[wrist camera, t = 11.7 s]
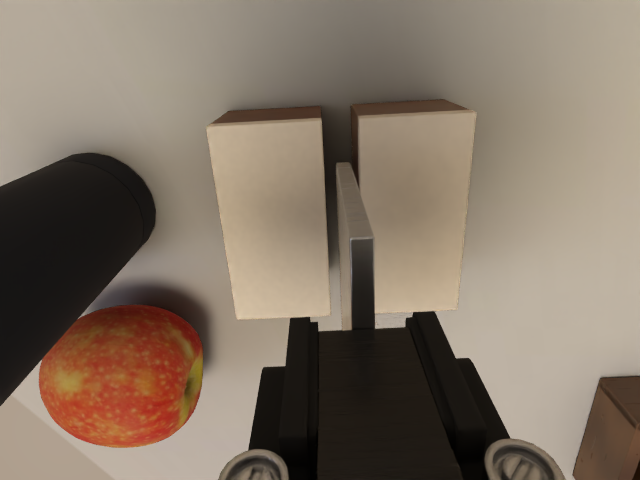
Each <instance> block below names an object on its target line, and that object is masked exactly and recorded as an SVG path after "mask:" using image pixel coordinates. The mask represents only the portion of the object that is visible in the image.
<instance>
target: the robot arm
mask: <svg viewBox="0 0 640 480" xmlns="http://www.w3.org/2000/svg"><path fill="white" fill-rule="evenodd" d="M405 327H409V328H410V330H411V333H412V336H413V339H414V341H415V344H416V347H417V350H418V353H419V356H420V359H421V362H422V365H423V367H424V370H425V373H426V376H427V379H428V382H429V385H430V388H431V391H432V393H433V396H434V399H435V402H436V405H437V408H438V411H439V414H440V417H441V419H442V422H443V423H444V425H445V427H446V430H447V433H448V436H449V439H450V441H451V444H452V447H453V450H454V453H455V456H456V459H457V461H458V464H459V467H460V470H461V473H462V476H463V478H464V480H566V479H565V477H564V475H563V473H562V471H561V469H560V468H559V466H558V465H557V464H556V462H555V461H554V459H553V458H552V457H551V456H549V455H548V454H547V453H546V452H545V451H544V450H542V449H541V448H539V447H537V446H535V445H534V444H532V443H529V442H526V441H523V440H519V439H511V438H510V436H509V434H508V432H507V430H506V428H505V426H504V424H503V422H502V420H501V418H500V416H499V414H498V412H497V410H496V408H495V406H494V404H493V402H492V400H491V398H490V396H489V394H488V392H487V390H486V388H485V386H484V384H483V382H482V380H481V378H480V376H479V374H478V372H477V370H476V368H475V366H474V364H473V363H472V361H471V360H470V359H469V358H458V359H456V358H455V356H454V354H453V351H452V349H451V347H450V345H449V342H448V340H447V338H446V336H445V334H444V331H443V329H442V327H441V325H440V322H439V320H438V318H437V316H436V314H435V312H434V311H427V312H414V313H413V316H412V317H411V318H406V326H405ZM317 428H318V322H310V317H300V318H290V326H289V336H288V346H287V356H286V366H282V367H264V368H263V369H262V374H261V379H260V385H259V391H258V397H257V403H256V409H255V414H254V420H253V426H252V432H251V438H250V443H249V449H248V451H245V452H243V453H241V454H239V455H237V456H235V457H234V458H233V459H232V460H231V461H229V462H228V463H227V464H226V466H225V467H224V469H223V470H222V471H221V473H220V476H219V479H218V480H316V432H317Z"/></svg>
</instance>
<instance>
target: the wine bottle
mask: <svg viewBox="0 0 640 480" xmlns="http://www.w3.org/2000/svg"><path fill="white" fill-rule="evenodd" d="M154 224H155V207H154V203H153V200H152V196H151V193H150V192H149V190H148V189H147V187H146V185H145V184H144V182H143V181H142V179H141V178H140V177H139V176H138V175H137V174H136V173H135V172H133V171H132V170H131V169H130V168H129V167H128V166H127V165H125V164H123V163H121V162H119V161H117V160H115V159H113V158H111V157H109V156H104V155H99V154H95V153H85V154H74V155H71V156H69V157H67V158H65V159H62V160H60V161H58V162H55V163H53V164H51V165H49V166H46V167H44V168H42V169H39V170H37V171H35V172H33V173H30V174H28V175H26V176H24V177H21V178H19V179H17V180H14V181H12V182H10V183H8V184H5V185H3V186H1V187H0V406H1V405H2V404H3V403H4V401H5V400H6V399H7V398H8V397H9V396H10V395H11V394H12V392H13V391H14V390H15V389H16V388H17V387H18V386H19V385H20V383H21V382H22V381H23V380H24V379H25V378H26V377H27V375H28V374H29V373H30V372H31V371H32V370H33V369H34V368H35V366H36V365H37V364H38V363H39V362H40V361H41V360H42V359H43V357H44V356H45V355H46V354H47V353H48V352H49V351H50V349H51V348H52V347H53V346H54V345H55V344H56V343H57V342H58V340H59V339H60V338H61V337H62V336H63V335H64V334H65V333H66V331H67V330H68V329H69V328H70V327H71V326H72V325H73V323H74V322H75V321H76V320H77V319H78V318H79V317H80V316H81V314H82V313H83V312H84V311H85V310H86V309H87V308H88V307H89V305H90V304H91V303H92V302H93V301H94V300H95V299H96V297H97V296H98V295H99V294H100V293H101V292H102V291H103V290H104V288H105V287H106V286H107V285H108V284H109V283H110V282H111V281H112V279H113V278H114V277H115V276H116V275H117V274H118V273H119V271H120V270H121V269H122V268H123V267H124V266H125V265H126V264H127V262H128V261H129V260H130V259H131V258H132V257H133V256H134V255H135V253H136V252H137V251H138V250H139V249H140V248H141V247H142V245H143V244H144V243H145V242H146V241H147V240H148V238H149V236H150V234H151V232H152V230H153V228H154Z"/></svg>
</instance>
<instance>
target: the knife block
mask: <svg viewBox="0 0 640 480" xmlns="http://www.w3.org/2000/svg"><path fill="white" fill-rule="evenodd" d="M573 476H574V478H575V480H640V377H620V378H601V379H600V381H599V385H598V388H597V392H596V395H595V399H594V402H593V406H592V409H591V413H590V416H589V420H588V423H587V427H586V430H585V434H584V437H583V441H582V444H581V448H580V451H579V455H578V458H577V462H576V465H575V468H574V472H573Z"/></svg>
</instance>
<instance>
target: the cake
mask: <svg viewBox="0 0 640 480" xmlns="http://www.w3.org/2000/svg"><path fill="white" fill-rule="evenodd" d="M206 133H207V139H208V145H209V151H210V158H211V164H212V170H213V176H214V182H215V189H216V195H217V201H218V207H219V214H220V220H221V226H222V232H223V239H224V245H225V251H226V257H227V264H228V270H229V276H230V282H231V289H232V295H233V301H234V307H235V313H236V319H237V320H247V319H268V318H290V317H311V316H330V315H331V301H330V281H329V261H328V240H327V220H326V199H325V179H324V158H323V138H322V118H321V107H320V106H312V107H294V108H276V109H257V110H239V111H228V112H227V113H225V114H224V115H222V116H221V117H220V118H218V119H217V120H215V121H214V122H212V123H211V124H209V125H208V126H206Z"/></svg>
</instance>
